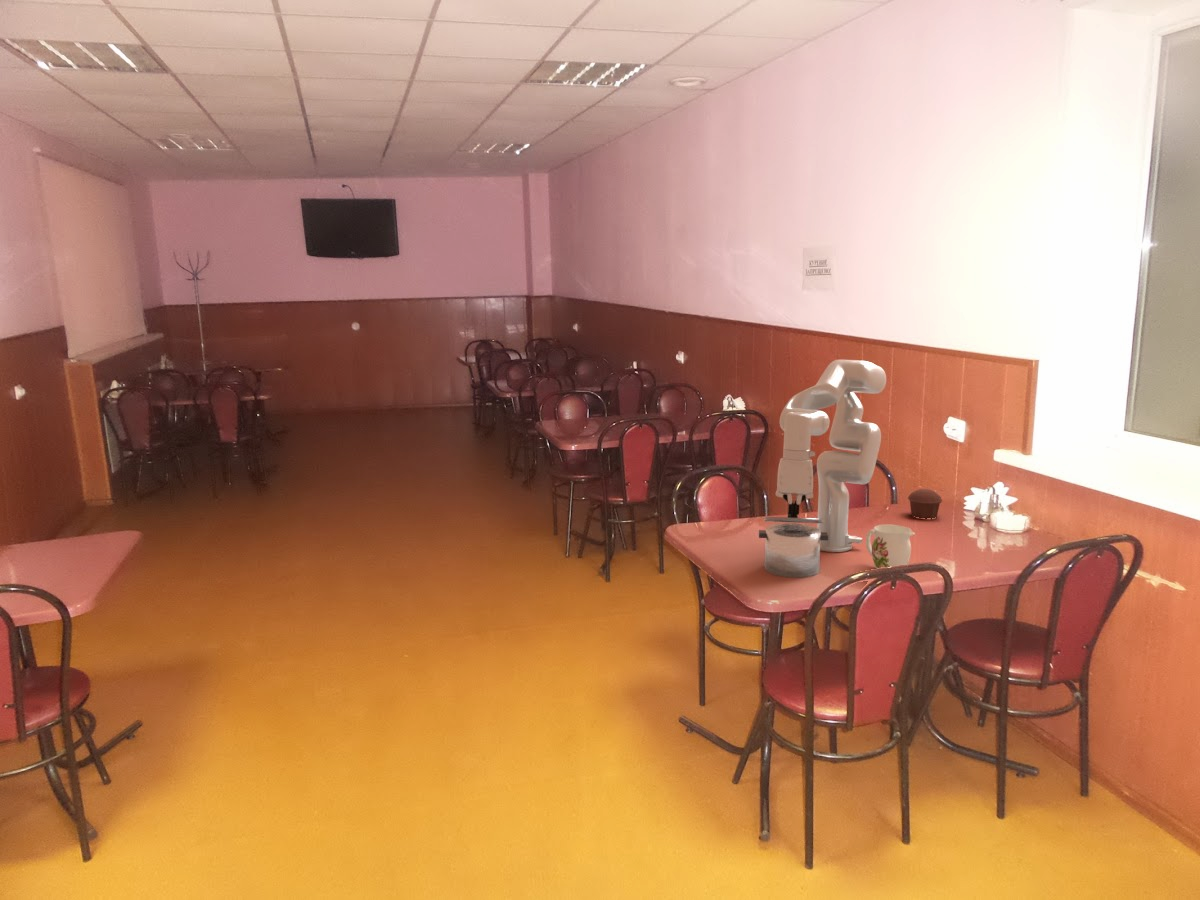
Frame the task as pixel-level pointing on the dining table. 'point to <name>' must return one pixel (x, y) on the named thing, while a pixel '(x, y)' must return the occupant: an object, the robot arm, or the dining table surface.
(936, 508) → the muffin
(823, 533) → the cooker pot
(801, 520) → the lid
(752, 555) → the dining table surface
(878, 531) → the pitcher
